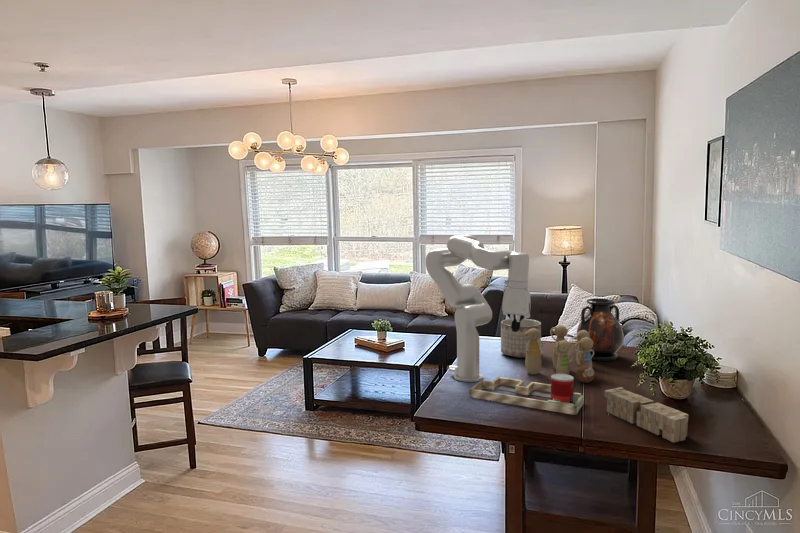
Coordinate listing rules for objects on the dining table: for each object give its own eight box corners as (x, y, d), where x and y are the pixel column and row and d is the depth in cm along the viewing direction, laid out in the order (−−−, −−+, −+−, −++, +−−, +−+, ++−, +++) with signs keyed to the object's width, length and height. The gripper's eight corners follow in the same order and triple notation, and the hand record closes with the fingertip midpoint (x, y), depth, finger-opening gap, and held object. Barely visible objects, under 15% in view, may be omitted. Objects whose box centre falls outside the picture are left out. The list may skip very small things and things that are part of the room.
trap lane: (469, 396, 206) (469, 387, 206) (487, 382, 224) (487, 373, 223) (576, 415, 187) (576, 405, 186) (587, 397, 204) (587, 388, 204)
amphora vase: (608, 350, 272) (609, 296, 269) (632, 362, 250) (634, 303, 247) (568, 352, 269) (569, 297, 266) (588, 364, 247) (590, 304, 245)
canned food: (575, 409, 192) (576, 380, 191) (552, 409, 193) (553, 379, 191) (570, 402, 199) (571, 373, 198) (548, 401, 200) (549, 373, 199)
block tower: (691, 441, 167) (620, 407, 194) (693, 416, 166) (621, 385, 193) (672, 446, 164) (603, 411, 191) (674, 420, 163) (604, 388, 190)
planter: (545, 360, 256) (545, 326, 254) (504, 360, 256) (504, 326, 254) (535, 349, 275) (535, 318, 273) (497, 350, 275) (498, 318, 274)
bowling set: (563, 391, 212) (564, 340, 210) (519, 373, 236) (520, 328, 234) (629, 376, 230) (630, 330, 228) (582, 361, 253) (583, 319, 251)
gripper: (495, 284, 206) (493, 330, 209) (533, 288, 199) (531, 336, 201) (502, 281, 213) (500, 326, 215) (539, 285, 205) (537, 331, 207)
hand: (515, 330), depth 208 cm, fingers closed
